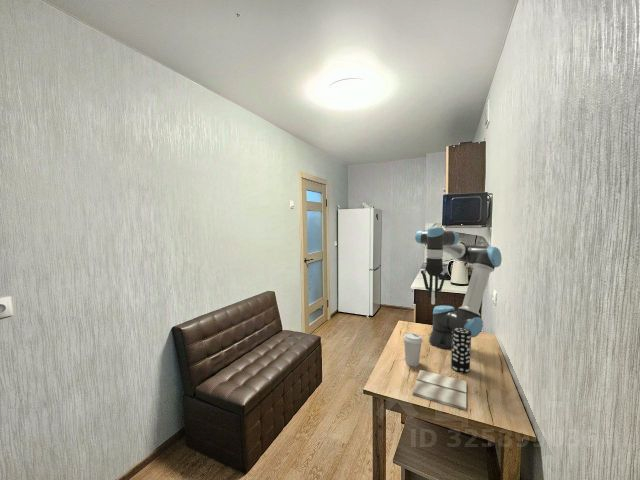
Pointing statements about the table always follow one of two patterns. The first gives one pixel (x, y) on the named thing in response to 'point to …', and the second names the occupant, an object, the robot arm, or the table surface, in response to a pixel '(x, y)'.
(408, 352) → the coffee cup
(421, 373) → the plank
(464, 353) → the spotted tube
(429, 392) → the laid board
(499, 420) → the table surface
